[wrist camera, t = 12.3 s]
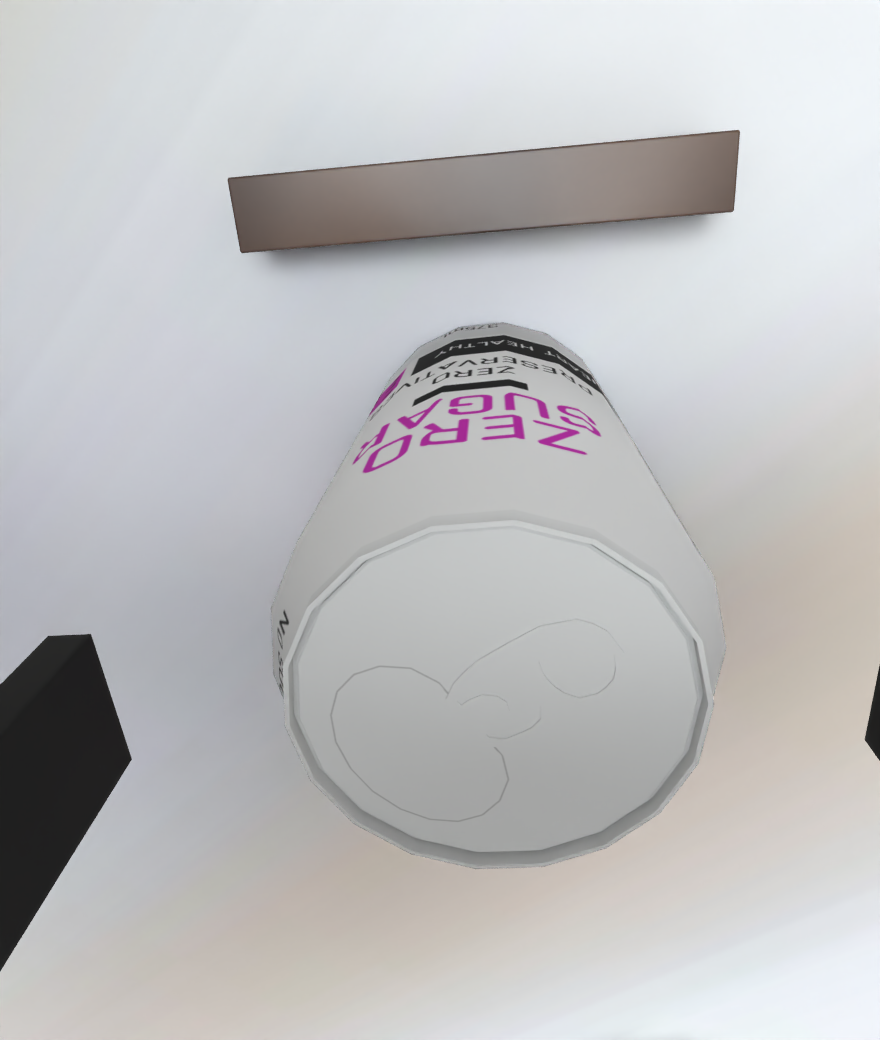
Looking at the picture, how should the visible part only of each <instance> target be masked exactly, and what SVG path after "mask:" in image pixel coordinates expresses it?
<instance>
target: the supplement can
mask: <svg viewBox="0 0 880 1040" xmlns="http://www.w3.org/2000/svg"><path fill="white" fill-rule="evenodd" d="M271 623H272V647H273V671H274V676H275V679H276V681H277V684H278V686H279V689H280V691H281V694H282V696H283V699H284V718H285V728H286V730H287V732H288V734H289V736H290V738H291V740H292V743H293V745H294V747H295V749H296V751H297V753H298V755H299V757H300V760H301V762H302V764H303V766H304V768H305V770H306V772H307V775H308V777H309V779H310V781H311V782H312V783H313V784H314V785H315V786H316V787H317V788H318V789H319V790H320V791H321V792H322V793H323V794H324V795H325V796H326V797H327V798H328V799H329V800H330V801H331V802H332V803H333V804H334V805H335V806H336V807H337V808H338V809H339V810H340V811H341V812H342V813H343V814H344V815H345V816H346V817H347V818H348V819H349V820H350V821H351V822H352V823H353V824H355V825H357V826H359V827H360V828H362V829H364V830H366V831H368V832H370V833H372V834H374V835H376V836H377V837H379V838H381V839H383V840H385V841H387V842H389V843H391V844H393V845H394V846H396V847H398V848H400V849H402V850H404V851H406V852H408V853H410V854H412V855H416V856H421V857H425V858H430V859H434V860H439V861H443V862H447V863H452V864H456V865H461V866H465V867H469V868H474V869H491V868H526V867H544V866H548V865H551V864H555V863H558V862H561V861H565V860H568V859H571V858H575V857H578V856H582V855H585V854H588V853H592V852H595V851H598V850H602V849H605V848H607V847H609V846H610V845H612V844H613V843H615V842H617V841H618V840H620V839H621V838H623V837H624V836H626V835H627V834H629V833H630V832H632V831H634V830H635V829H637V828H638V827H640V826H641V825H643V824H644V823H646V822H647V821H649V820H650V819H652V818H654V817H655V816H657V815H658V814H660V813H661V812H662V810H663V809H664V808H665V806H666V805H667V804H668V803H669V801H670V800H671V799H672V797H673V796H674V795H675V793H676V792H677V791H678V790H679V788H680V787H681V786H682V784H683V783H684V782H685V781H686V779H687V778H688V777H689V775H690V774H691V773H692V771H693V770H694V769H695V768H696V766H697V765H698V764H699V760H700V756H701V752H702V748H703V745H704V741H705V737H706V733H707V730H708V726H709V722H710V718H711V715H712V711H713V707H714V700H713V696H714V693H715V689H716V685H717V681H718V677H719V674H720V670H721V666H722V662H723V658H724V655H725V651H726V642H725V636H724V630H723V624H722V618H721V612H720V606H719V600H718V594H717V588H716V583H715V578H714V576H713V574H712V573H711V571H710V569H709V567H708V566H707V564H706V562H705V561H704V559H703V557H702V556H701V554H700V552H699V551H698V549H697V547H696V546H695V544H694V542H693V541H692V539H691V537H690V536H689V534H688V532H687V531H686V529H685V527H684V526H683V524H682V522H681V520H680V519H679V517H678V515H677V514H676V512H675V510H674V509H673V507H672V505H671V504H670V502H669V500H668V499H667V497H666V495H665V494H664V492H663V490H662V489H661V487H660V485H659V484H658V482H657V480H656V479H655V477H654V475H653V473H652V472H651V470H650V468H649V467H648V465H647V463H646V462H645V460H644V458H643V457H642V455H641V453H640V452H639V450H638V448H637V447H636V445H635V443H634V442H633V440H632V438H631V437H630V435H629V433H628V432H627V430H626V428H625V427H624V425H623V423H622V421H621V420H620V418H619V416H618V415H617V413H616V411H615V410H614V408H613V406H612V405H611V403H610V401H609V400H608V398H607V396H606V395H605V393H604V392H603V390H602V389H601V387H600V385H599V384H598V382H597V381H596V379H595V378H594V376H593V375H592V373H591V372H590V370H589V369H588V367H587V366H586V364H585V363H584V361H583V360H582V359H581V358H580V357H579V356H577V355H576V354H574V353H573V352H572V351H570V350H569V349H567V348H566V347H564V346H563V345H562V344H560V343H559V342H557V341H556V340H555V339H553V338H552V337H550V336H549V335H547V334H546V333H542V332H538V331H534V330H530V329H526V328H522V327H518V326H515V325H511V324H507V323H494V324H485V325H476V326H467V327H458V328H456V329H454V330H452V331H450V332H448V333H446V334H444V335H442V336H440V337H438V338H436V339H434V340H432V341H430V342H428V343H426V344H424V345H422V346H420V347H419V348H418V349H417V350H416V351H415V352H414V353H413V354H412V355H411V356H410V357H409V359H408V360H407V361H406V362H405V363H404V364H403V365H402V366H401V367H400V368H399V369H398V370H397V371H396V373H395V374H394V375H393V376H392V377H391V378H390V379H389V381H388V383H387V385H386V386H385V388H384V390H383V392H382V393H381V395H380V397H379V399H378V401H377V402H376V404H375V406H374V408H373V409H372V411H371V413H370V415H369V416H368V418H367V420H366V422H365V423H364V425H363V427H362V429H361V430H360V432H359V434H358V436H357V437H356V439H355V441H354V443H353V444H352V446H351V448H350V450H349V451H348V453H347V455H346V457H345V459H344V460H343V462H342V464H341V466H340V467H339V469H338V471H337V473H336V474H335V476H334V478H333V480H332V481H331V483H330V485H329V487H328V488H327V490H326V492H325V494H324V495H323V497H322V499H321V501H320V502H319V504H318V506H317V508H316V510H315V511H314V513H313V515H312V517H311V518H310V520H309V522H308V524H307V525H306V527H305V529H304V531H303V532H302V534H301V536H300V538H299V539H298V541H297V543H296V545H295V548H294V550H293V553H292V555H291V558H290V561H289V563H288V566H287V568H286V571H285V573H284V576H283V579H282V581H281V584H280V586H279V589H278V591H277V594H276V597H275V599H274V602H273V604H272V607H271Z"/></svg>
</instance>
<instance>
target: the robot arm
mask: <svg viewBox="0 0 880 1040" xmlns="http://www.w3.org/2000/svg"><path fill="white" fill-rule="evenodd" d="M865 741H866V742H867V743H868V745H869V746H870V748H871V749H872V751H873V752H874V753H875V755H876V756H877V758H878V759H879V760H880V666H879V671H878V676H877V681H876V686H875V691H874V696H873V701H872V706H871V711H870V716H869V721H868V726H867V731H866V736H865ZM131 760H132V759H131V755H130V752H129V749H128V746H127V743H126V740H125V737H124V734H123V731H122V728H121V725H120V722H119V719H118V716H117V713H116V710H115V706H114V703H113V700H112V697H111V694H110V691H109V688H108V685H107V682H106V679H105V676H104V673H103V670H102V667H101V664H100V661H99V658H98V654H97V651H96V648H95V645H94V642H93V639H92V636H91V634H85V635H61V636H48V637H47V638H46V639H45V640H44V641H43V642H42V643H41V644H40V645H39V646H38V647H37V648H36V649H35V650H34V651H33V652H32V653H31V654H30V655H29V656H28V657H27V658H26V659H25V660H24V661H23V662H22V663H21V664H20V665H19V666H18V667H17V668H16V669H15V670H14V671H13V672H12V673H11V674H10V675H9V676H8V677H7V679H6V680H5V681H4V682H3V683H2V684H1V685H0V971H1V969H2V968H3V966H4V964H5V963H6V961H7V960H8V958H9V956H10V955H11V953H12V951H13V950H14V948H15V947H16V945H17V943H18V942H19V940H20V939H21V937H22V935H23V934H24V932H25V931H26V929H27V927H28V926H29V924H30V922H31V921H32V919H33V918H34V916H35V914H36V913H37V911H38V910H39V908H40V906H41V905H42V903H43V902H44V900H45V898H46V897H47V895H48V893H49V892H50V890H51V889H52V887H53V885H54V884H55V882H56V881H57V879H58V877H59V876H60V874H61V873H62V871H63V869H64V868H65V866H66V864H67V863H68V861H69V860H70V858H71V856H72V855H73V853H74V852H75V850H76V848H77V847H78V845H79V844H80V842H81V840H82V839H83V837H84V835H85V834H86V832H87V831H88V829H89V827H90V826H91V824H92V823H93V821H94V819H95V818H96V816H97V815H98V813H99V811H100V810H101V808H102V806H103V805H104V803H105V802H106V800H107V798H108V797H109V795H110V794H111V792H112V790H113V789H114V787H115V785H116V784H117V782H118V781H119V779H120V777H121V776H122V774H123V773H124V771H125V769H126V768H127V766H128V765H129V763H130V761H131Z"/></svg>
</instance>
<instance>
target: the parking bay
mask: <svg viewBox="0 0 880 1040" xmlns="http://www.w3.org/2000/svg"><path fill="white" fill-rule="evenodd" d="M739 137H740V131H739V130H732V131H721V132H711V133H700V134H690V135H679V136H668V137H658V138H647V139H636V140H626V141H615V142H604V143H594V144H583V145H572V146H562V147H551V148H540V149H530V150H519V151H509V152H498V153H487V154H477V155H466V156H455V157H445V158H434V159H423V160H413V161H402V162H391V163H381V164H370V165H359V166H349V167H338V168H327V169H317V170H306V171H296V172H285V173H274V174H264V175H253V176H242V177H232V178H228V185H229V190H230V196H231V201H232V207H233V213H234V218H235V224H236V229H237V235H238V240H239V246H240V251H241V253H249V252H261V251H273V250H285V249H297V248H309V247H320V246H332V245H344V244H356V243H368V242H380V241H392V240H404V239H416V238H428V237H440V236H452V235H463V234H475V233H487V232H499V231H511V230H523V229H535V228H547V227H559V226H571V225H583V224H594V223H606V222H618V221H630V220H642V219H654V218H666V217H678V216H690V215H702V214H714V213H725V212H733V211H734V202H735V189H736V176H737V163H738V150H739Z"/></svg>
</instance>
